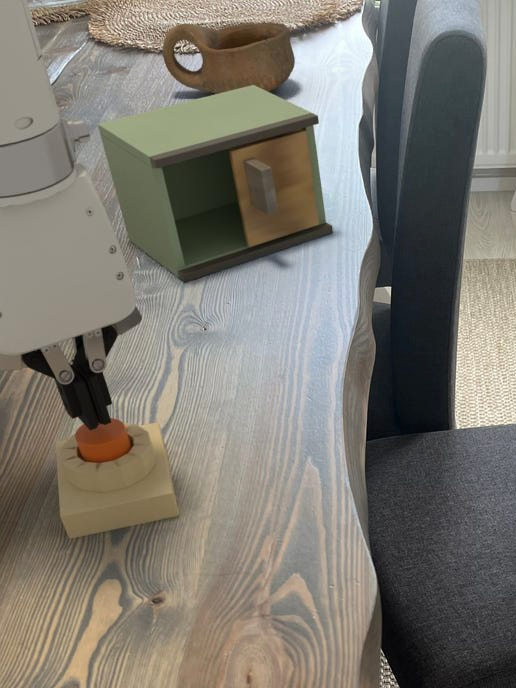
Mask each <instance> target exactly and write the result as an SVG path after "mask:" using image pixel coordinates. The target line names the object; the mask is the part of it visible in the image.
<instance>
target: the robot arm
mask: <svg viewBox="0 0 516 688" xmlns="http://www.w3.org/2000/svg"><path fill="white" fill-rule="evenodd" d="M58 107H59V106H58V104H57V101H56V97H55V94H54V90H53V87H52V82H51V80H50V76H49V73H48V69H47V65H46V61H45V58H44V55H43V52H42V47H41V44H40V41H39V37H38V34H37V31H36V28H35V24H34V20H33V16H32V13H31V10H30V6H29V3H28V0H0V373H1V372H9V371H18V370H19V371H21V370H23V369H30V370H33V371H35V372H37V373H40V374H42V375H44V376H47V377H49V378H51V379H53V380H54V382H55V385H56V388H57V391H58V393H59V396H60V399H61V401H62V405H63V408H64V410H65V411H66V413H67V415H68V416H69V417H70V418H71V419H72V420H73V419H76V418H78V419H79V420H80V422H81V423H82V424H85V425H86V427H87V428H88V429H89V430H90V431H91V430H93V429H96V428H97V426H98V425H99V423H100V424H103V425H106V424H109V423H111V419H110V418H111V416H110V413H109V410H108V406H111V405H113V400H112V397H111V394H110V390H109V387H108V384H107V381H106V378H105V374H104V371H105V370H106V368H107V357H108V356H109V354H110V351H112V348H113V347H114V344H115V343H116V341H117V339H118V337H119V336H123V335H124V334H126V333H128V332H129V331H130V330H132V329H134V328H135V327H137V326H138V325H140V324H141V322H142V320H143V316H142V313H141V312H140V310H139V309H138V306H137V298H136V292H135V288H134V284H133V281H132V277H131V274H130V270H129V268H128V265H127V262H126V259H125V255H124V253H123V251H122V248H121V245H120V243H119V240H118V238H117V235H116V232H115V230H114V227H113V224H112V222H111V220H110V218H109V215H108V212H107V210H106V208H105V205H104V203H103V201H102V198H101V196H100V195H99V192H98V189H97V187H96V186H95V184H94V182H93V180H92V178H91V176H90V174H89V173H88V170H87V168H86V167H85V165H83V164H82V162H81V161H79V160H78V159H77V157H76V147H79V146H80V144H82V143H86V142H89V141H90V140H91V134H90V131H89V127H88V125H87V123H86V121H85V120H84V119H83V118H82V117H77V118H73V119H71V118H69V117H67V118H65V117H63V115H61V114H60V110H59V108H58ZM70 339H71V341H72V346H73V352H74V356H73V359H71V362H72V363H69V361H68V358H67V357H66V355H65V353H64V351H63V350H62V348H61V346H60V343H61V342H65V341H67V340H70Z"/></svg>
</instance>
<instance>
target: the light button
mask: <svg viewBox="0 0 516 688" xmlns="http://www.w3.org/2000/svg"><path fill="white" fill-rule="evenodd" d="M110 419H111V423H109V424H106V425H103V424H100V423H99V425H98V426H97V428H96V429H93V430H91V431H90V430H89V429H88V428H87V427H86V425H85V424H84V423H82V425H81V426H79V427H78V428H77V429H76V431H75V433H74V434H75V439H76V441H77V444H78V447H79V450H80V452H81V455H82V457H83V459H84V460H85V461H87V462H92V463H103V462H108V461H113V460H116V459H118V458H120V457H122V456H124V455H126V454H127V453H128V452H129V451H130V449H131V444H130V441H129V438H128V434H127V431H126V428H125V425H124V424H123V423H124V422H122V421H121V420H120V419H117V418H113V417H110Z"/></svg>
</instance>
